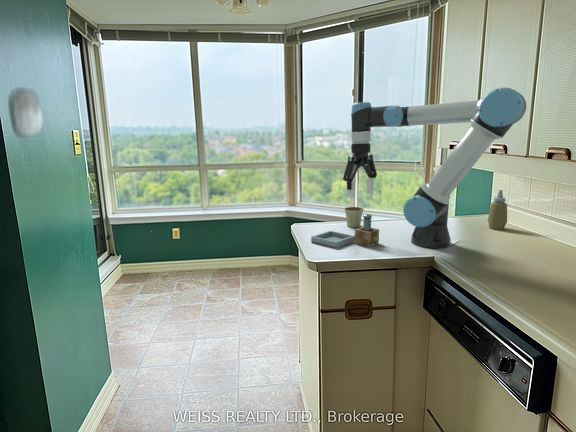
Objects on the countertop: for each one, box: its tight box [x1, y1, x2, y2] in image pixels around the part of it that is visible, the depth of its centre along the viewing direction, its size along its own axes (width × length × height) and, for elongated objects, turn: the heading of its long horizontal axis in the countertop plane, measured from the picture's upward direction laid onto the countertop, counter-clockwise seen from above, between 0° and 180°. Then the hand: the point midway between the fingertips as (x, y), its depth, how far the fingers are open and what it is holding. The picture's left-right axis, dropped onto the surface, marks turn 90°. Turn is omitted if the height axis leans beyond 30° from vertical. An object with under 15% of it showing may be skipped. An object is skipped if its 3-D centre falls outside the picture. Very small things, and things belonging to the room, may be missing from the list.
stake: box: [362, 213, 373, 231], centre depth 158 cm, size 3×3×12 cm
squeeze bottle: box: [487, 189, 508, 231], centre depth 178 cm, size 8×8×18 cm
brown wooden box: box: [354, 226, 380, 247], centre depth 158 cm, size 9×7×6 cm
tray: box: [310, 230, 355, 249], centre depth 162 cm, size 13×13×2 cm
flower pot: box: [343, 206, 365, 228], centre depth 187 cm, size 9×9×9 cm
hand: (360, 195), depth 159 cm, fingers open, 13 cm apart
